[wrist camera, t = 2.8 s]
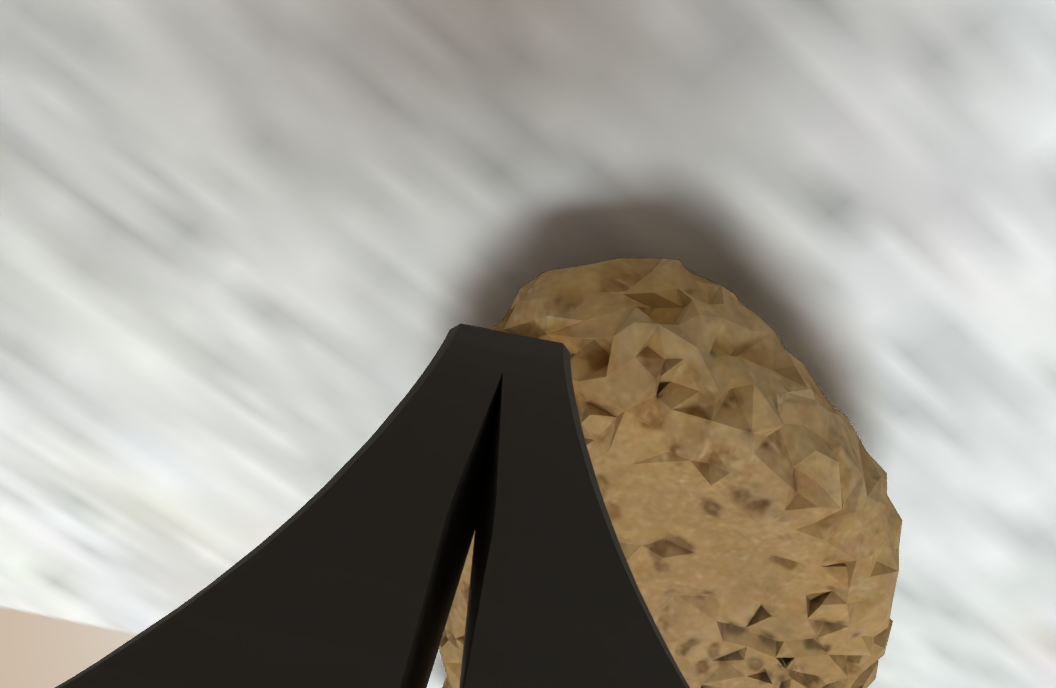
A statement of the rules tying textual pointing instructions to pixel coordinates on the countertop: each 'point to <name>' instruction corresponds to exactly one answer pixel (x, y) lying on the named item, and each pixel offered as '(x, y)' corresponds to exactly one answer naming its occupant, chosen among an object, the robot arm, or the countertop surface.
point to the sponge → (718, 480)
